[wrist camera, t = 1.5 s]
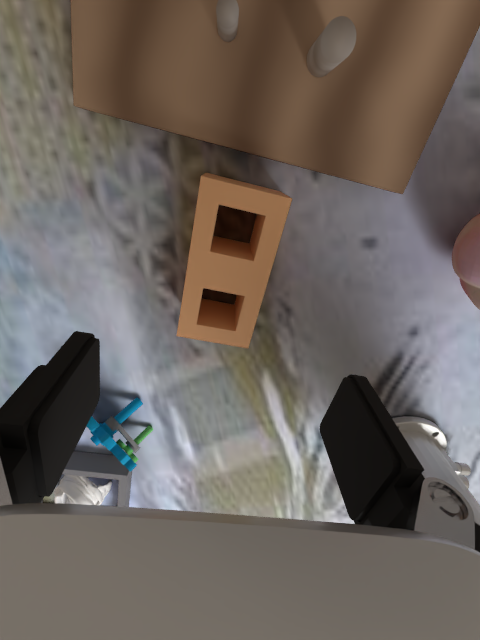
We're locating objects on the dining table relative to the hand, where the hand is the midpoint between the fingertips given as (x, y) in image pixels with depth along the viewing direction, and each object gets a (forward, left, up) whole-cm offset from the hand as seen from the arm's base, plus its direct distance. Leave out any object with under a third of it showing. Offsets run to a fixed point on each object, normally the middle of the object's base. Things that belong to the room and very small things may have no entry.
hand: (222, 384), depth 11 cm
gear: (+9, +21, -17) cm, 28 cm away
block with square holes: (0, 0, -17) cm, 17 cm away
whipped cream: (+12, +36, -17) cm, 42 cm away
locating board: (0, -14, -17) cm, 22 cm away
